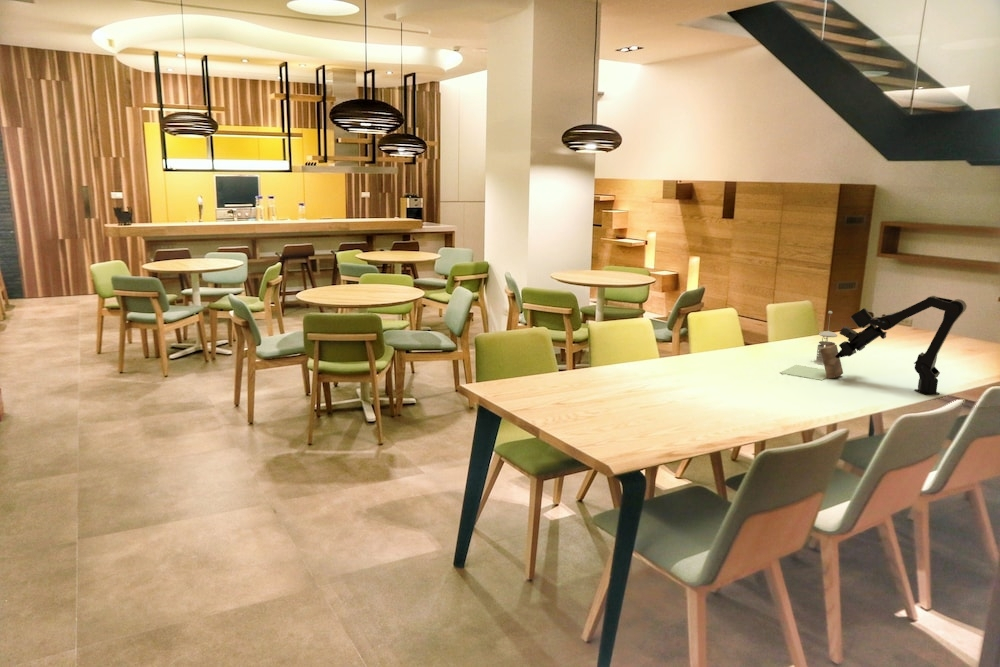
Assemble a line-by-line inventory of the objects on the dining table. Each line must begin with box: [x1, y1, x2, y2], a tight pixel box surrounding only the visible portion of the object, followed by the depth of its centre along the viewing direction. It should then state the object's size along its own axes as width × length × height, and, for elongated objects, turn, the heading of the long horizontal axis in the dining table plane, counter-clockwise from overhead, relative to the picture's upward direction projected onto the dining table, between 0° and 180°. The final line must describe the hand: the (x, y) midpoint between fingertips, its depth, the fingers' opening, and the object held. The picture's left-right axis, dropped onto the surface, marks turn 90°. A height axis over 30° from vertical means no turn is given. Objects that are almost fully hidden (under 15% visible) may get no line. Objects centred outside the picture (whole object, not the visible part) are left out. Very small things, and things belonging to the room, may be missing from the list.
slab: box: [820, 344, 844, 379], centre depth 304 cm, size 4×9×13 cm, turn 137°
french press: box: [813, 310, 838, 366], centre depth 328 cm, size 10×12×25 cm
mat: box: [779, 364, 828, 381], centre depth 311 cm, size 18×20×1 cm
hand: (836, 357), depth 302 cm, fingers closed
